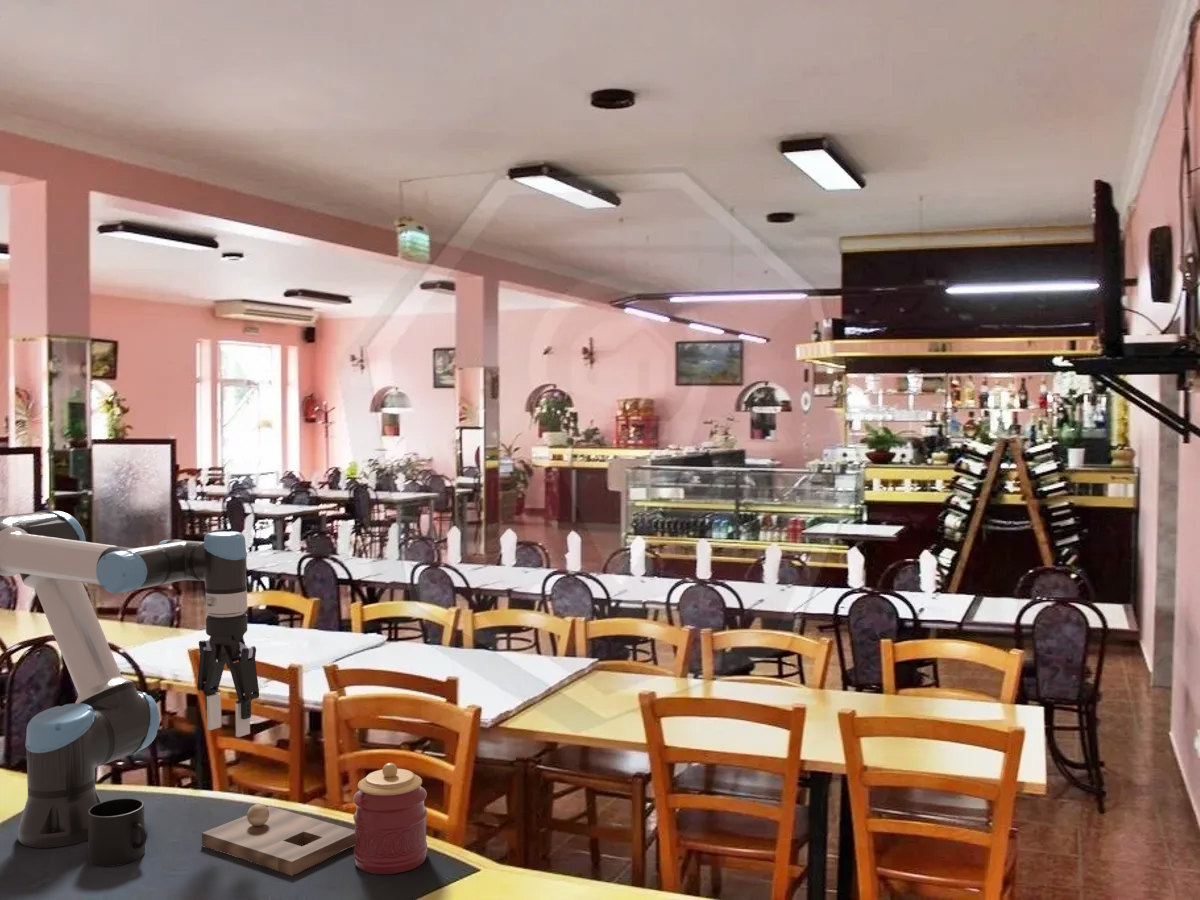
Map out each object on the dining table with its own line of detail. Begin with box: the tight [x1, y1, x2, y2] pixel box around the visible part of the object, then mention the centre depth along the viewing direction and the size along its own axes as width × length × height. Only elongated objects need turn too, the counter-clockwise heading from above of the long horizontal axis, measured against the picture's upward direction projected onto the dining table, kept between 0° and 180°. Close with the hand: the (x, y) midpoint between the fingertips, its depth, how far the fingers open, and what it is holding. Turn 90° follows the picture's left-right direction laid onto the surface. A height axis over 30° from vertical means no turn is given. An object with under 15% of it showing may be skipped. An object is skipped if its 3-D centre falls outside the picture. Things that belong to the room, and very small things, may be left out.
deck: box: [201, 805, 355, 877], centre depth 205 cm, size 24×16×2 cm, turn 58°
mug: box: [87, 797, 147, 867], centre depth 199 cm, size 9×12×9 cm
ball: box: [246, 803, 269, 826], centre depth 208 cm, size 4×4×4 cm
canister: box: [352, 762, 428, 875], centre depth 198 cm, size 13×13×18 cm
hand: (228, 731), depth 211 cm, fingers open, 8 cm apart
